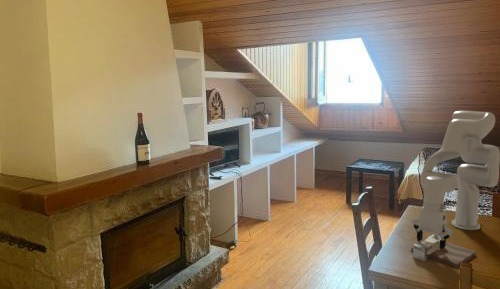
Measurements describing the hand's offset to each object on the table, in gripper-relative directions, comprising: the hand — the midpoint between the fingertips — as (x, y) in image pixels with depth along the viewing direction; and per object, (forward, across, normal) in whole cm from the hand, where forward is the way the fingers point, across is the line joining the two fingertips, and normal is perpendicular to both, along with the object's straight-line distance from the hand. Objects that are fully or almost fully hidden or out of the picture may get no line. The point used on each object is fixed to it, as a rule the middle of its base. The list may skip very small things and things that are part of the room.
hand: (430, 244), depth 162 cm
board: (+4, -4, -4) cm, 7 cm away
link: (+2, 0, -1) cm, 3 cm away
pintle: (+2, 0, -5) cm, 5 cm away
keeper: (+4, 0, +6) cm, 8 cm away
